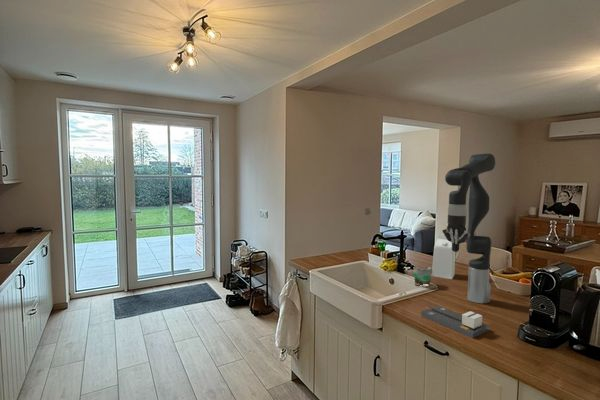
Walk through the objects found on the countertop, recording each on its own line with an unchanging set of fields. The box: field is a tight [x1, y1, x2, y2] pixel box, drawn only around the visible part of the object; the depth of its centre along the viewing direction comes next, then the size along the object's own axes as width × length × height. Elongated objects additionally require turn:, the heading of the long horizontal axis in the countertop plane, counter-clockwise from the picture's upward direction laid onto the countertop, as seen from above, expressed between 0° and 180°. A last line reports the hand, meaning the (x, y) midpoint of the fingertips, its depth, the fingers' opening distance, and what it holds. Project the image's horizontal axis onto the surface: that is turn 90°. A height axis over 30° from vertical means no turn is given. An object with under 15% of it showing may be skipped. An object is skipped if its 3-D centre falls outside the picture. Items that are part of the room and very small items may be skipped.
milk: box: [431, 234, 456, 280], centre depth 204 cm, size 12×12×26 cm
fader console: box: [420, 305, 490, 339], centre depth 139 cm, size 24×12×2 cm, turn 32°
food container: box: [413, 266, 432, 287], centre depth 185 cm, size 12×6×10 cm, turn 117°
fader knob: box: [461, 310, 483, 329], centre depth 132 cm, size 5×6×4 cm
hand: (455, 251), depth 147 cm, fingers closed
